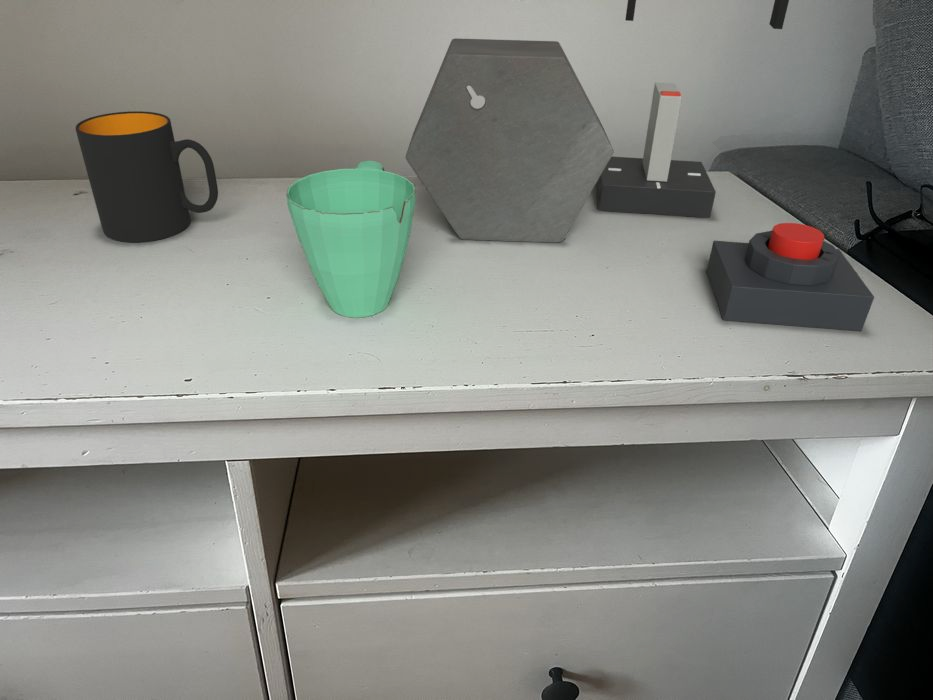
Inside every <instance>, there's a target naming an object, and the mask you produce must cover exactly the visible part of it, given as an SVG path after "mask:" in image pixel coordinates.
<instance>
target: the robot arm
mask: <svg viewBox="0 0 933 700" xmlns="http://www.w3.org/2000/svg"><path fill="white" fill-rule="evenodd" d="M789 1H790V0H774V2H773V6H772V10H771V17H770V19H769V26H771V28H772V29H774V30H783V27H784V23H785V18H786V15H787V10H788V6H789ZM636 3H637V0H627V5H626V13H625V21H629V22H634V18H635V11H636Z"/></svg>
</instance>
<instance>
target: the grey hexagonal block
mask: <svg viewBox="0 0 933 700" xmlns="http://www.w3.org/2000/svg"><path fill="white" fill-rule="evenodd" d="M468 86H469V87H471V89H472V90H473V92H474V93H475V95H476V96H477V97H478V96H479V97H483V99H484V104H483V106H481V107H479V108H477V107H474V106H472V103H471V102H472V100H473V97H472V94H471V93H470V92H469V89H468ZM614 153H615V149H614V148H613V146H612V144H611V141H610V139H609V137H608V135H607V133H606V131H605V128H604V126H603V124H602V122H601V120H600V118H599V116H598V114H597V113H596V110H595V108H594V106H593V104H592V103H591V101H590V99H589V96H588V95H587V94H586V91H585V89H584V88H583V85H582V84H581V81H580V80H579V78H578V75H577V74H576V72H575V70H574V68H573V66H572V64H571V62H570V61H569V58H568V57H567V55H566V53H565V50H564V49H563V47H562V45H561V43H560V42H559V41H555V40H524V39H523V40H520V39H487V38H486V39H485V38H456V37H455V38H451V41H450V43H449V45H448V48H447V50H446V52H445V55H444V58H443V60H442V62H441V65H440V66H439V69H438V72H437V74H436V76H435V79H434V82H433V83H432V86H431V88H430V91H429V94H428V97H427V99H426V101H425V104H424V105H423V108H422V111H421V113H420V116H419V119H418V120H417V122H416V125H415V128H414V130H413V132H412V136H411V139H410V141H409V145H408V148H407V150H406V154H405V160H406V161H407V163H408V165H409V166H410V167H411V169H412V171H413V172H414V174H415V175H416V176H417V178H418V180H419V181H420V183H421V184H422V185H423V187H424V189H425V190H426V191H427V193H428V194H429V196H430V197H431V198H432V200H433V201H434V203H435V204H436V206H437V207H438V208H439V210H440V212H441V213H442V215H443V216H444V218H445V219H446V221H447V222H448V223H449V225H450V226H451V228H452V229H453V231H454V232H455V234H456V235H457V236H458V238H459V239H460V240H468V241H495V242H496V241H497V242H500V241H501V242H526V243H527V242H528V243H561V242H563V241H564V239H565V238H566V236H567V234H568V233H569V231H570V229H571V228H572V227H573V225H574V222H576V221H575V220H576V219H577V217H578V215H579V214H580V212H581V211H582V208H583V207H584V206H585V203H586V202H587V200H588V199H589V196H590V195H591V193H592V191H593V189H594V188H595V187H596V185H597V181H598V179H599V177H600V176H601V174H602V172H603V170H604V169H605V167H606V165H607V163H608V162H609V160H610V158H611V157H613V155H614Z"/></svg>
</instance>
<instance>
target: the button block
mask: <svg viewBox="0 0 933 700" xmlns="http://www.w3.org/2000/svg"><path fill="white" fill-rule="evenodd" d="M771 234H772V230H767V231H761V232H757V233H755V234H754V235H753V236H752V237H751V238H750V239H749V240H748V242H741V241H740V242H738V241H725V240H713V241H712V245H711V250H710V254H709V259H708V262H707V263H708V264H707V267H706V275H707V277H708V281H709V283H710V286H711V288H712V292H713V294H714V297H715V300H716V303H717V306H718V309H719V312H720V314H721V317H722V320H723V321H727V322H738V323H739V322H740V323H751V324H753V323H754V324H763V325H764V324H766V325H778V326H791V327H803V328H814V329H815V328H818V329H830V330H842V331H854V332H862V331H863V329H864V325H865V323H866V320H867V319H868V315H869V312H870V310H871V307H872V305H873V302H874V299H875V296H874V294H873V293H872V291H871V290H870V289H869V288H868V286H867V285H866V283H865V282H864V280H862V278H861V276H860V275H859V274H858V273H857V271H856V270H855V269H854V267H853V266H852V265H851V263H850V261H849V260H847V259H848V258H846V257H845V255H844V254H843V252H842V251H841V250H840V249H839V248H836V247H835V246H834V245H833V244H831V243H829V242H826V241H825V240H824V241H823V244H822V247H821V250H820V253H819V256H818V258H816V259H811V260H805V259H793V258H789V257H785V256H782V255H778V254H776V253H774V252H773V251H771V250H769V249H768V245H769V241H770V237H771Z"/></svg>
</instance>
